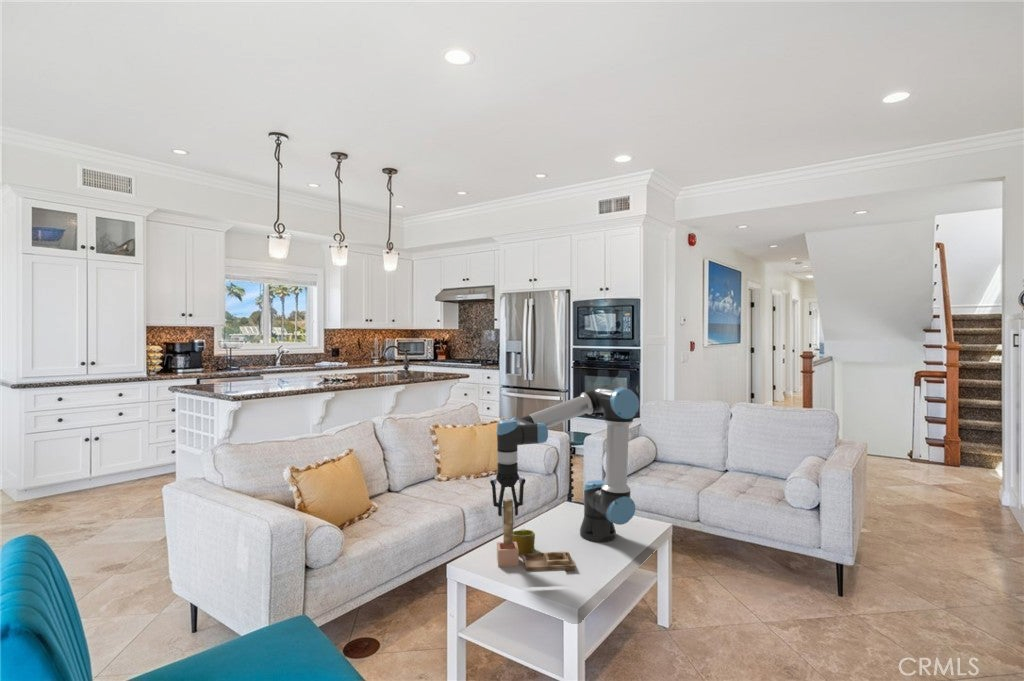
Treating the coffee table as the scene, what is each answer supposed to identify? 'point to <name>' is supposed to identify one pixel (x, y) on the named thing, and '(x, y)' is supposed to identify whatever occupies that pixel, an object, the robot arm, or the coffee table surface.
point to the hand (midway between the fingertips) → (508, 524)
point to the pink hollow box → (507, 554)
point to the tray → (548, 561)
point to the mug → (524, 541)
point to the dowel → (508, 521)
